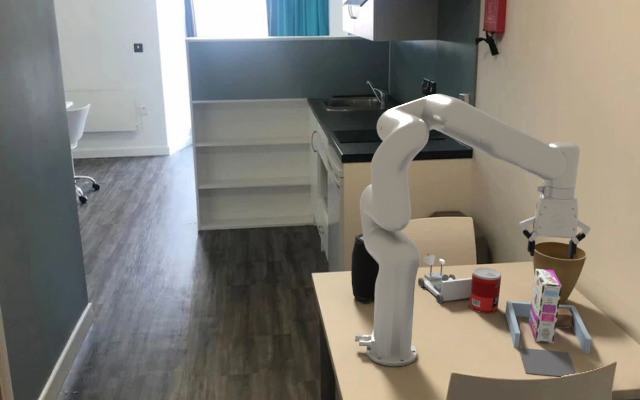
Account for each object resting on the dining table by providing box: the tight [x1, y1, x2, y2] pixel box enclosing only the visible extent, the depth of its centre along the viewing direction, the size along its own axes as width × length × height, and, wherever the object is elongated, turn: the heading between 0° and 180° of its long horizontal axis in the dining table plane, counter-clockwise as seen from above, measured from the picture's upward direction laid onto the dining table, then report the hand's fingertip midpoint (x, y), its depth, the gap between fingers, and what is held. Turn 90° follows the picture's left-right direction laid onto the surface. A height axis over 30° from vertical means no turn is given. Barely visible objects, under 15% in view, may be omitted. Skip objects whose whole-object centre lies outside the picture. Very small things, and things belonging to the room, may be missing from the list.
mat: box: [518, 347, 577, 377], centre depth 160 cm, size 12×12×1 cm
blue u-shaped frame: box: [505, 300, 592, 354], centre depth 174 cm, size 18×19×4 cm
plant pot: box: [532, 241, 588, 305], centre depth 192 cm, size 15×15×16 cm
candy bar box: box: [528, 269, 562, 344], centre depth 172 cm, size 11×5×16 cm, turn 172°
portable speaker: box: [350, 233, 379, 304], centre depth 191 cm, size 9×9×20 cm
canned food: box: [469, 267, 502, 314], centre depth 187 cm, size 8×8×11 cm
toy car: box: [417, 253, 472, 305], centre depth 199 cm, size 18×10×12 cm
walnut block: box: [556, 308, 572, 329], centre depth 179 cm, size 4×4×4 cm
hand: (550, 255), depth 168 cm, fingers open, 9 cm apart
